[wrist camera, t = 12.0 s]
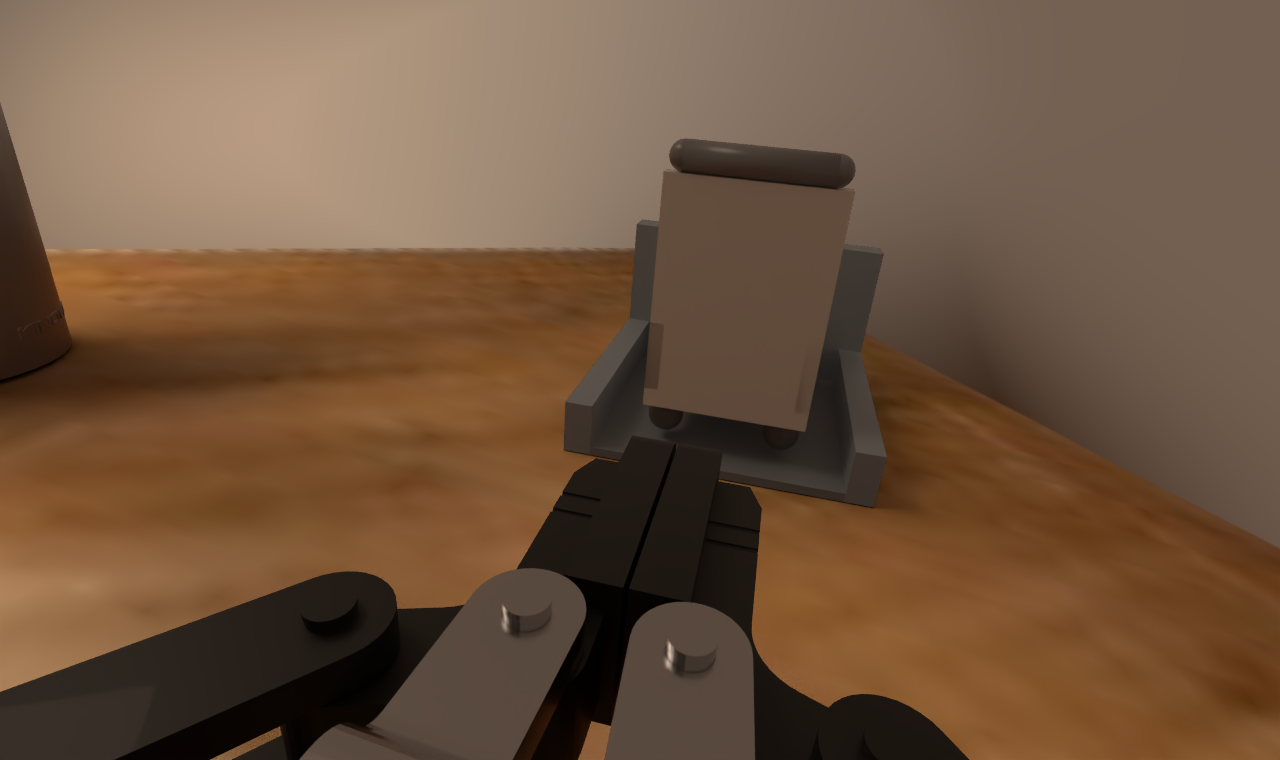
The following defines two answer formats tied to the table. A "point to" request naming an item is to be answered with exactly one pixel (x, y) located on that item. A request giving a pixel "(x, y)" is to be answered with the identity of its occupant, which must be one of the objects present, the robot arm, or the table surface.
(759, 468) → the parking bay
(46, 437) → the table surface
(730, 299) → the toy cart
